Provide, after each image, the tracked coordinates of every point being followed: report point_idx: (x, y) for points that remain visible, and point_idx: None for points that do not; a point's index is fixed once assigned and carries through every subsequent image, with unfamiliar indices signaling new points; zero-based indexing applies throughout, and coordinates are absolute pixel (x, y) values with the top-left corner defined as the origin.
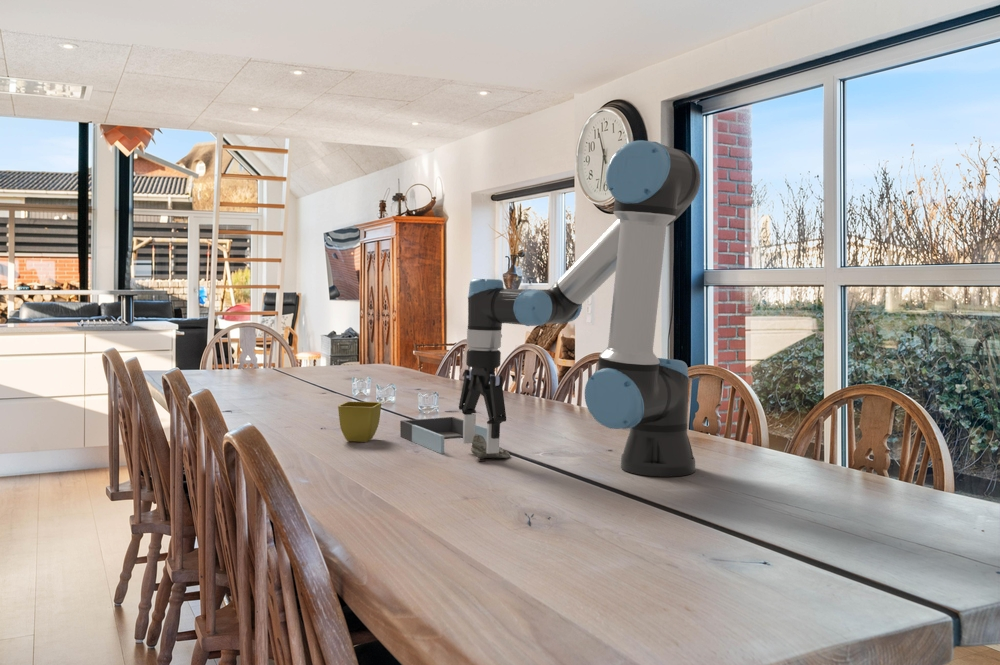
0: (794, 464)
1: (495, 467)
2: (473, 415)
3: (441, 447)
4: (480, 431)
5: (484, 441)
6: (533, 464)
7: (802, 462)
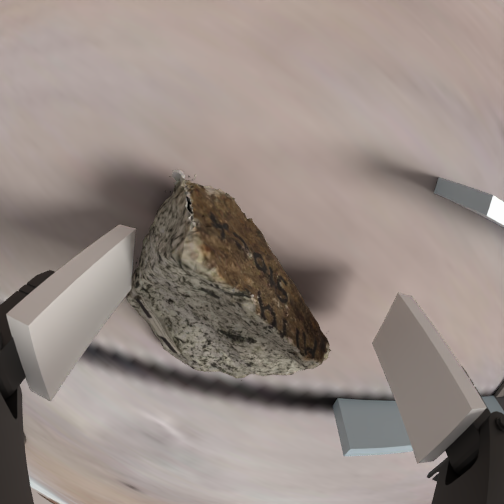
0: None
1: (49, 173)
2: (427, 449)
3: (454, 185)
4: None
5: (242, 325)
6: None
7: None
